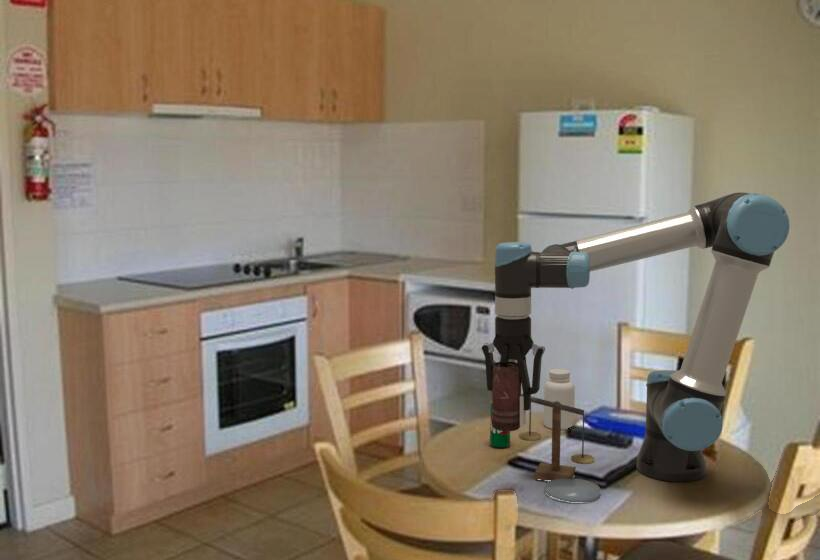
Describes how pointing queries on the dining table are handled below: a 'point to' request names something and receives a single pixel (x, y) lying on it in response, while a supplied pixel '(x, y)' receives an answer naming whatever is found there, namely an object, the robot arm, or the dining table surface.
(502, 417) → the can
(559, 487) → the dish
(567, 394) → the pill bottle
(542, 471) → the balance
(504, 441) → the soda can
